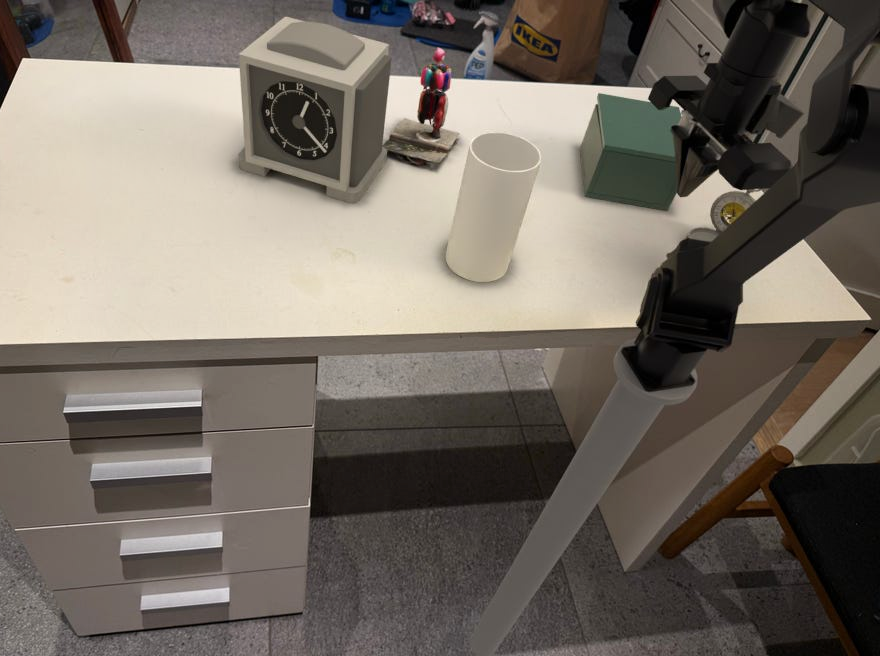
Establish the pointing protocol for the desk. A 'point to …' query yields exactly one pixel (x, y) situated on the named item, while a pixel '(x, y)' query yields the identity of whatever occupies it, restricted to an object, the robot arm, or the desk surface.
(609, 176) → the panel
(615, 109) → the lid
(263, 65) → the alarm clock
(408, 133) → the statue
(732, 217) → the pocket watch
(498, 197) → the cup
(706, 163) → the robot arm
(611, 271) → the desk surface
